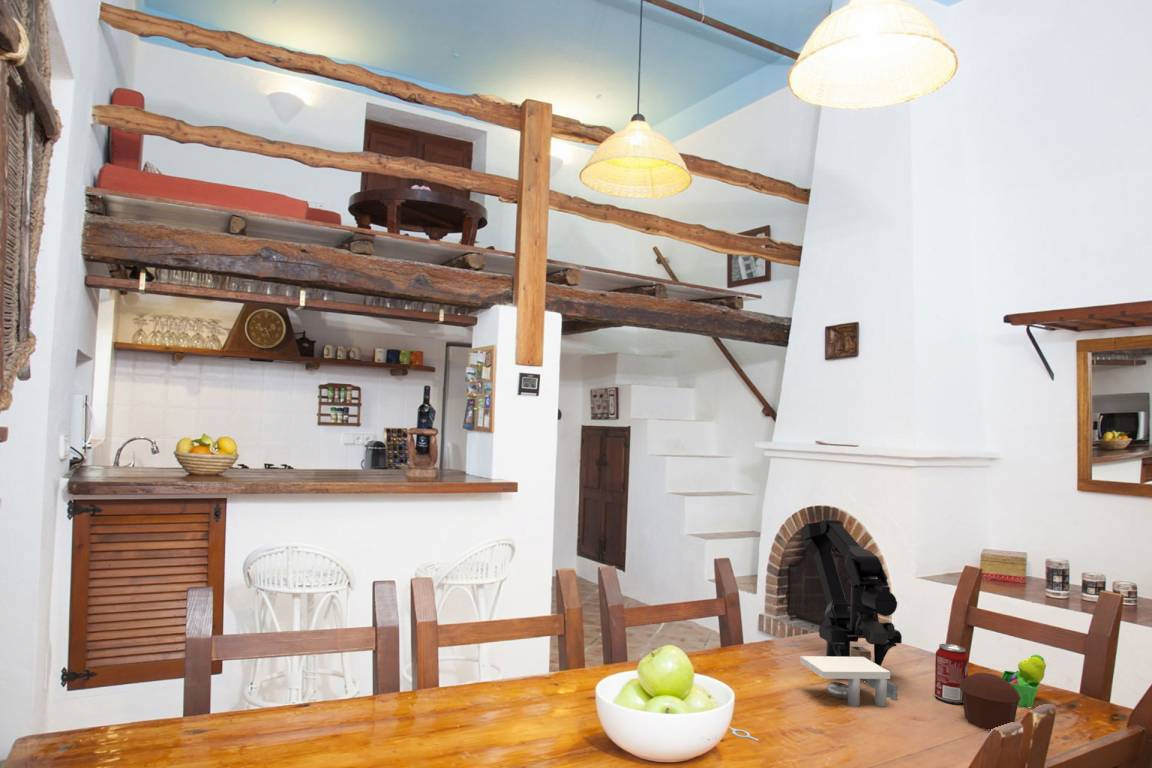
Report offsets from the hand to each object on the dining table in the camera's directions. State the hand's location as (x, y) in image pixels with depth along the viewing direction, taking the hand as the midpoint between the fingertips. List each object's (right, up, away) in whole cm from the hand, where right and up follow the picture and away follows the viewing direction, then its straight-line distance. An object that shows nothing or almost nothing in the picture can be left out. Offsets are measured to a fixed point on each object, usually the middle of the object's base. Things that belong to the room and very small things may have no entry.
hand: (860, 669), depth 189 cm
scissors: (-43, +2, -35) cm, 55 cm away
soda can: (+16, -3, -13) cm, 21 cm away
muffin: (+18, -2, -26) cm, 32 cm away
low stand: (-10, -1, -15) cm, 18 cm away
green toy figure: (+34, -4, -11) cm, 36 cm away
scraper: (+1, -2, -7) cm, 7 cm away
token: (-10, -1, -13) cm, 17 cm away
